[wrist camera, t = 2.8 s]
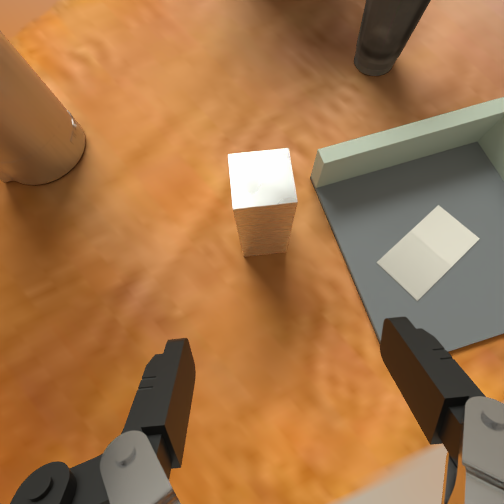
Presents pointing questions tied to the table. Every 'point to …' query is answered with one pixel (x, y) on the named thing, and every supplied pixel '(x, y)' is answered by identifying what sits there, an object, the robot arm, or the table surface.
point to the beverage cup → (385, 33)
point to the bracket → (263, 200)
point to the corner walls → (415, 143)
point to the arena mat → (426, 243)
